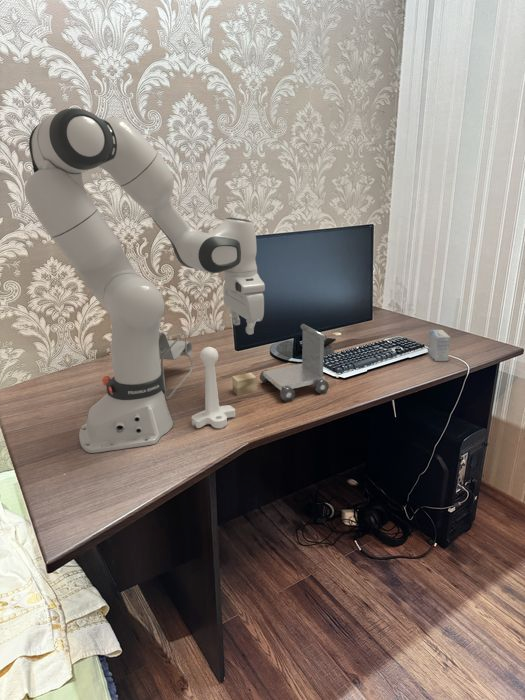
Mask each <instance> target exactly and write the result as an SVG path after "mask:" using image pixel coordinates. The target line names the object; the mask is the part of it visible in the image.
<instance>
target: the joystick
mask: <svg viewBox="0 0 525 700" xmlns="http://www.w3.org/2000/svg"><path fill="white" fill-rule="evenodd" d="M199 357H200V361H201V362H202V364H204V371H205V372H204V374H205V375H204V378H205V379H204V381H205V382H204V384H205V385H204V386H205V387H204V391H205V393H204V394H205V396H204V397H205V398H204V399H205V403H204V404H205V405H204V406H205V409H204V410H202V411H199V412H197V413H195V414H193V415H192V416H191V425H192V426H193V427H195V428H196V429H200V428H202V427H204V426H207V425H211V427H213V428H215V429H223V428H225V427H226V426H227V425H228V419H229V418H235V417H236V408H235V407H233V406H231V405H230V404H229V405H228V404H225V405H220V400H219V393H218V391H219V390H218V384H217V374H216V363H217V362H218V359H219V353H218V350H217V349H216V348H214V347H212V346H206V347H204V348H203V349H202V350H201V351H200V355H199Z"/></svg>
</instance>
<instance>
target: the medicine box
mask: <svg viewBox="0 0 525 700" xmlns="http://www.w3.org/2000/svg"><path fill="white" fill-rule="evenodd" d="M450 345H451V336H450V334H449V335H448V333H447V332H446V331H444V330H443V329H431V330H429V336H428V347H427V354H428V355H429V356H430V357H431V358H432V359H433V361H435V362H448V360H449V355H450V353H449V352H450Z"/></svg>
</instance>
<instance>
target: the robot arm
mask: <svg viewBox="0 0 525 700" xmlns="http://www.w3.org/2000/svg"><path fill="white" fill-rule="evenodd" d="M28 148H29V149H28V150H29V154H30V159H31V162H32V170H33V172H34V173H32V174H31V175H30V177H29V178H28V179H27V180H26V183H25V185H24V195H25V198H26V200H27V202H28V204H29V206H30V207H31V210H32V211H33V213H34V215H35V217H36V218H37V219H38V221H39V223H40V224H41V226H42V227H43V228H44V230H45V231H46V232H47V234H48V235H49V236H50V239H52V241H53V242H54V243H55V244H56V246H57V247H58V249H59V250H60V251H61V253H62V254H63V255H64V256H65V258H66V259H67V260H68V261H69V263H70V264H71V265H72V267H73V268H74V269H75V271H76V272H77V274H78V275H79V276H80V277H81V279H82V280H83V282H84V283H85V285H86V286H87V287H88V288H89V290H90V291H91V293H92V294H93V297H95V298H96V300H97V302H98V303H100V306H102V307H103V309H104V310H106V311H107V312H108V314H109V317H110V322H111V343H110V345H109V346H110V347H109V350H110V357H111V358H110V359H111V365H112V371H113V377H110V376H109V375H105V376H103V377H102V379H101V380H102V384H103V385H104V386H105V387H106V392H107V393H105V395H104V396H102V398H100V399H99V400H98V401H97V402H96V403H94V404H93V405H92V406H91V407H90V408H89V410H88V415H87V419H86V423H84V424H83V425H82V426H81V427H80V429H79V432H78V441H79V444H80V447H81V448H82V449H83V450H84V451H85V452H87V453H90V454H95V453H96V454H97V453H103V452H110V451H116V450H123V449H124V450H125V449H129V448H137V447H144V446H152V445H155V444H157V442H158V441H159V440H160V438H161V437H162V436H164V435H165V434H167V433H168V432H169V431H170V430H171V429H172V427H173V425H174V421H173V418H172V417H171V413H170V411H169V408H168V405H167V400H166V399H165V387H166V381H164V379H165V375H164V376H163V373H162V368H161V359H160V355H159V333H160V328H161V320H162V317H163V316H164V312H165V300H164V298H163V296H162V293H161V292H160V290H159V289H158V288H157V286H156V285H155V284H154V283H153V282H151V281H150V280H148V279H146V278H144V277H143V276H141V274H139V273H138V272H137V270H136V269H135V268H134V267H133V264H132V263H131V261H130V259H129V258H128V256H127V254H126V252H125V251H124V248H123V246H122V243H121V242H120V241H121V240H120V239H119V238H118V237H117V235H116V233H115V232H114V231H113V229H112V228H111V226H110V225H109V224H108V222H107V221H106V219H105V217H104V216H103V215H102V213H101V211H100V210H99V209H98V207H97V206H96V204H95V203H94V202H93V201H92V199H91V198H90V196H89V195H88V194H87V193H88V192H87V191H86V189H85V186H84V182H83V173H85V172H88V171H90V170H92V169H95V168H97V167H99V168H101V169H103V170H104V171H105V172H106V173H108V174H109V175H110V177H112V179H114V181H115V182H116V183H117V184H118V185H119V187H120V188H121V189H122V190H123V191H124V192H125V193H126V194H127V195H128V196H129V197H130V198H131V199H132V200H133V201H134V202H135V203H136V204H138V206H139V207H141V208H142V209H143V210H144V211H145V212H146V213H147V214H148V216H149V217H150V218H151V220H152V221H153V222H154V223H155V225H156V226H157V227H158V228H159V229H160V230H161V231H162V233H163V234H164V235H165V237H166V238H167V239H168V240H169V243H170V244H171V246H172V249H173V251H174V255H175V258H176V259H177V260H178V262H179V263H180V264H181V265H182V266H184V267H185V268H188V269H195V270H199V271H202V272H206V273H210V274H217V273H218V274H219V273H221V272H223V273H224V274H223V276H224V284H223V290H222V291H223V294H222V295H223V296H222V297H223V305H224V306H225V307H226V308H227V309H229V312H230V315H231V318H232V325H234V326H240V325H241V318H244V319H245V320H246V321H245V322H246V327H245V333H246V334H248V336H249V335H253V334H254V331H255V325H256V322H262V321H263V318H264V314H265V295H264V293H263V292H265V290H266V284H265V282H264V281H263V280H262V279H261V277H260V275H259V273H258V266H257V261H256V257H257V249H258V247H257V235H256V229H255V226H254V224H253V222H252V221H251V220H249V219H243V218H236V217H226V218H224V219H223V221H222V223H220V224H219V225H218V226H217V227H215V228H214V229H212V230H210V231H208V232H202V231H200V230H198V229H195V228H193V227H191V225H189V224H188V222H187V221H186V220H185V219H184V217H183V216H182V215H181V214H180V212H179V210H178V209H177V208H176V207H175V205H174V204H173V201H172V199H171V195H172V193H173V190H174V185H175V183H174V182H175V180H174V179H175V178H174V175H173V174H172V171H171V170H170V167H169V166H168V165H167V163H166V162H165V160H164V159H163V157H162V156H161V155H160V154H159V152H158V151H157V150H156V149H155V148H154V147H153V145H152V144H151V143H150V142H149V141H148V140H147V139H146V137H145V136H144V135H143V134H142V133H140V131H138V130H137V129H136V128H135V127H134V125H132V124H131V123H130V122H128V120H126V119H124V118H123V117H120V116H111V117H108V118H107V117H106V118H105V119H103V118H100V117H98V116H97V115H96V114H94V113H92V112H91V111H88V110H86V109H83V108H77V107H71V108H66V109H62V110H60V111H59V112H57V113H53V114H50V115H48V116H47V117H45V118H44V119H43V120H42V121H41V122H40V123H39V124H37V125H36V126H35V127H34V128H33V130H32V131H31V133H30V135H29V139H28ZM240 316H241V318H240Z"/></svg>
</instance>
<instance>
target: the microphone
mask: <svg viewBox="0 0 525 700" xmlns="http://www.w3.org/2000/svg"><path fill="white" fill-rule="evenodd" d="M334 341H336V338H335V337H334V338H332V337H327V339H326V340H325V341H324V347H325V346H327V345H331V344H332V343H333V342H334Z"/></svg>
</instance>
